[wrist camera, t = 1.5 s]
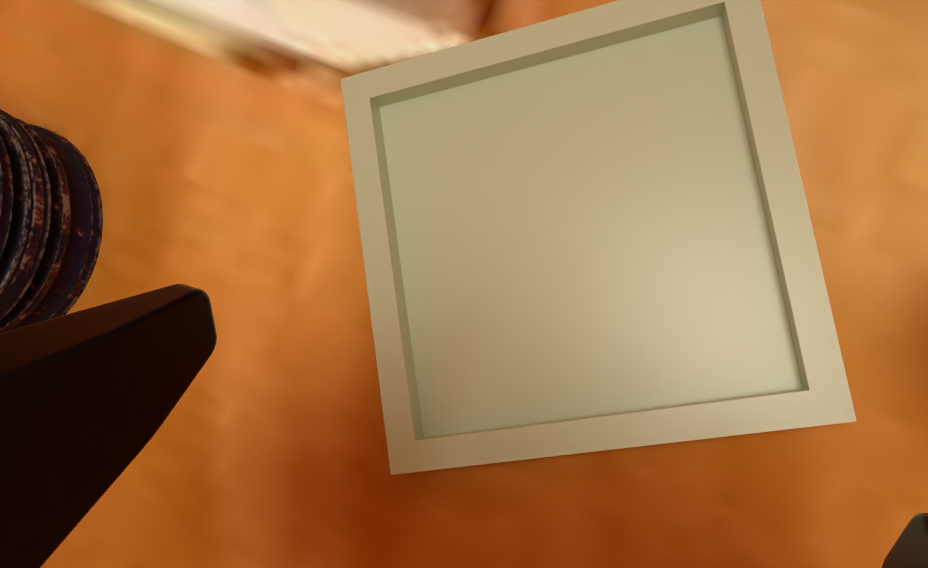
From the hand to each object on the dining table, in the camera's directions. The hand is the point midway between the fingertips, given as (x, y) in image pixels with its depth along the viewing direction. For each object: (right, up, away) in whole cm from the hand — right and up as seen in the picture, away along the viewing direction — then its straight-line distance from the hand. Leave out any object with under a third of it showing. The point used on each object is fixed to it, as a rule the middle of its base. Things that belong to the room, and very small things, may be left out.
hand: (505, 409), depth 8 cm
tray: (+3, +3, +15) cm, 15 cm away
